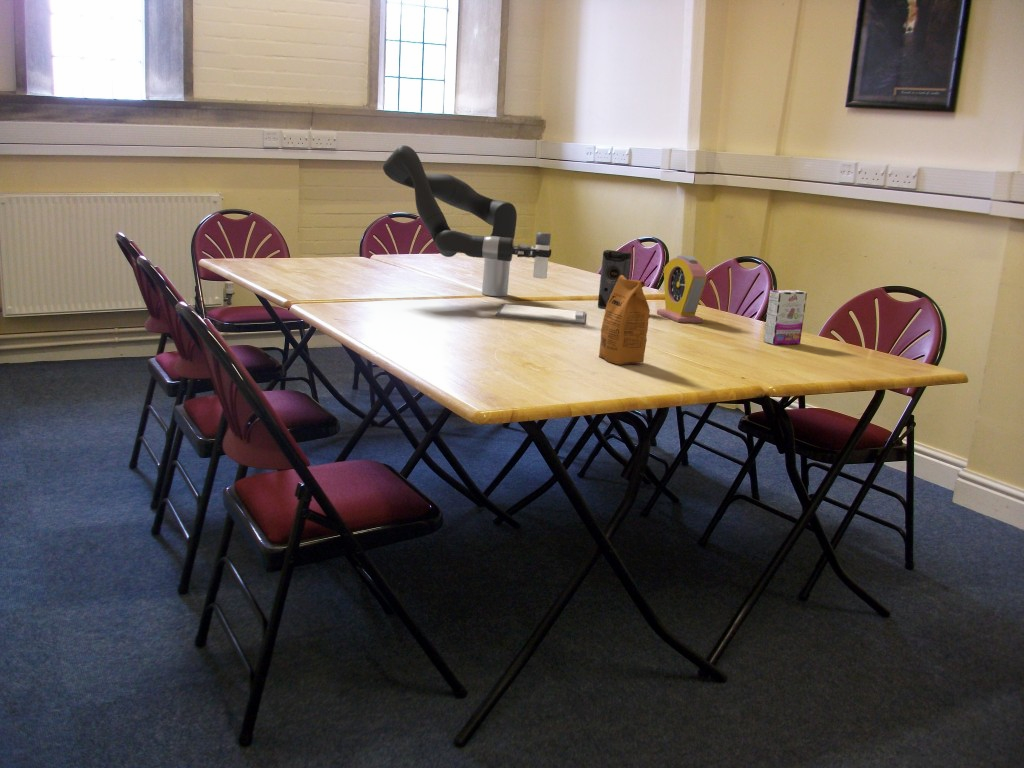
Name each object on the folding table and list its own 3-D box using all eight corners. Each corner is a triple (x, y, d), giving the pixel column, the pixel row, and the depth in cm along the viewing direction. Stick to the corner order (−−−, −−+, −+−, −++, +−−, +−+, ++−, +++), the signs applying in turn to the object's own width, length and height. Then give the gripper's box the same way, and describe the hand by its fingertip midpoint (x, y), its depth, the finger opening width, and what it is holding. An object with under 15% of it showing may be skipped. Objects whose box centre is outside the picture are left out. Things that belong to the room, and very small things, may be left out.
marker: (533, 276, 318) (537, 232, 315) (547, 277, 318) (551, 233, 314) (532, 277, 313) (536, 233, 310) (546, 279, 313) (550, 234, 310)
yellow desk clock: (652, 312, 342) (659, 250, 337) (676, 313, 345) (683, 252, 340) (682, 324, 322) (690, 259, 317) (707, 325, 325) (715, 260, 320)
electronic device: (596, 307, 342) (602, 250, 337) (601, 305, 347) (607, 249, 343) (621, 311, 339) (628, 253, 334) (626, 309, 344) (632, 252, 339)
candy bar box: (789, 341, 308) (796, 289, 304) (800, 344, 303) (808, 292, 299) (761, 341, 302) (769, 289, 299) (772, 345, 298) (780, 291, 294)
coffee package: (626, 355, 264) (635, 274, 259) (648, 366, 253) (658, 281, 248) (592, 355, 260) (601, 273, 255) (613, 366, 249) (623, 280, 244)
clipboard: (502, 305, 330) (502, 300, 329) (585, 313, 328) (585, 308, 328) (495, 315, 308) (496, 310, 308) (584, 324, 307) (585, 319, 306)
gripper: (496, 238, 307) (550, 243, 306) (501, 235, 321) (553, 240, 319) (494, 262, 309) (548, 267, 307) (499, 257, 322) (550, 262, 321)
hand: (550, 253), depth 313 cm, fingers closed on marker, 4 cm apart
